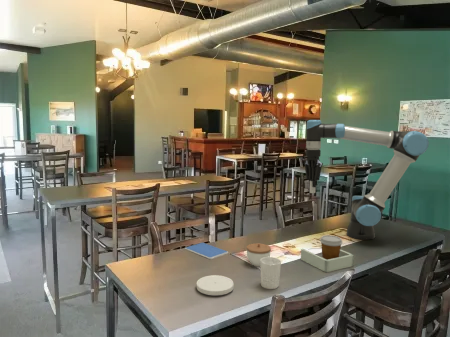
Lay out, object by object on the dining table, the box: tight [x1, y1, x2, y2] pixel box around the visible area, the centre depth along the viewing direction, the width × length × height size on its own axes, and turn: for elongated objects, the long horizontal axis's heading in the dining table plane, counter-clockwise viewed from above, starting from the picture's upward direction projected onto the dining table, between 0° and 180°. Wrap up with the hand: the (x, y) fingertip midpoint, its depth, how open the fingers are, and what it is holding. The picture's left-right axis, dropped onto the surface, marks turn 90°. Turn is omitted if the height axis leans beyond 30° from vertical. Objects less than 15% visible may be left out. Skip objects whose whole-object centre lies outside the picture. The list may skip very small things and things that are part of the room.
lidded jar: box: [246, 242, 272, 267], centre depth 159 cm, size 11×11×9 cm
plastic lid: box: [196, 274, 235, 296], centre depth 135 cm, size 14×14×2 cm
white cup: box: [259, 256, 282, 290], centre depth 138 cm, size 8×8×10 cm
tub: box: [300, 248, 355, 273], centre depth 163 cm, size 16×16×5 cm
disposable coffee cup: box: [319, 234, 343, 260], centre depth 160 cm, size 10×10×12 cm
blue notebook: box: [184, 242, 229, 260], centre depth 175 cm, size 19×13×1 cm, turn 45°
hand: (312, 192), depth 193 cm, fingers closed
